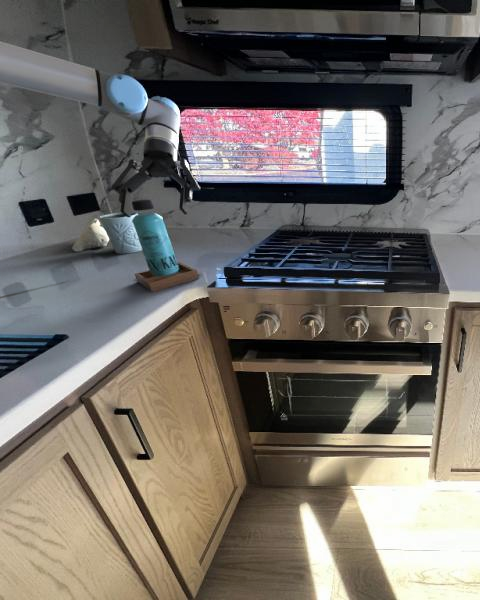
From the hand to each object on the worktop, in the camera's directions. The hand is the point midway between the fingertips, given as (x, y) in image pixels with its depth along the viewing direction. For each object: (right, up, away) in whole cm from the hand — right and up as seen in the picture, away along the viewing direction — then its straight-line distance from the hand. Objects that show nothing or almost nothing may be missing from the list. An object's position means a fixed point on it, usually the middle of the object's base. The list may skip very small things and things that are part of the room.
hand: (154, 213), depth 85 cm
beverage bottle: (+1, -17, +3) cm, 17 cm away
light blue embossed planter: (-29, -5, +29) cm, 42 cm away
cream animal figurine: (-47, -3, +34) cm, 58 cm away
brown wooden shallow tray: (+1, -17, +3) cm, 18 cm away
